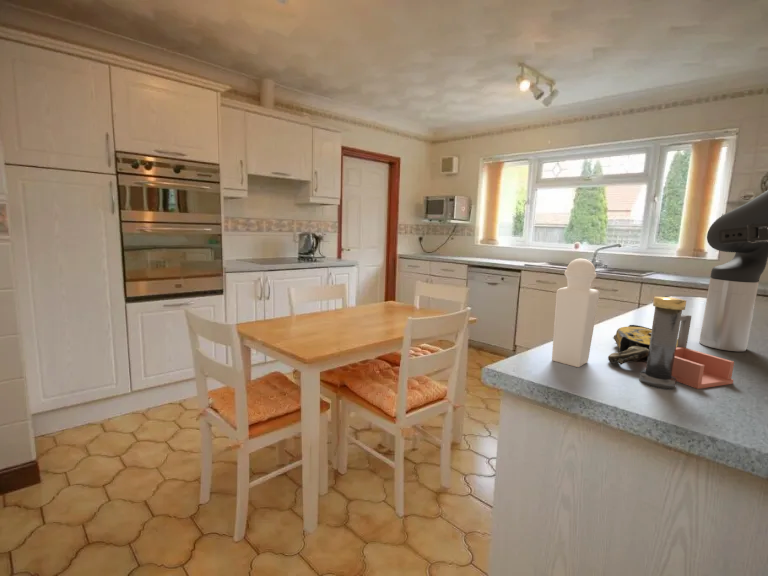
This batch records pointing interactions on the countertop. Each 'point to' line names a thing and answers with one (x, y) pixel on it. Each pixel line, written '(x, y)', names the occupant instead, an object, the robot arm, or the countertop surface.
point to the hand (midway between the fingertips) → (734, 236)
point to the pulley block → (631, 344)
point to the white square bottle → (575, 314)
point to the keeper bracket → (698, 363)
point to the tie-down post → (663, 343)
